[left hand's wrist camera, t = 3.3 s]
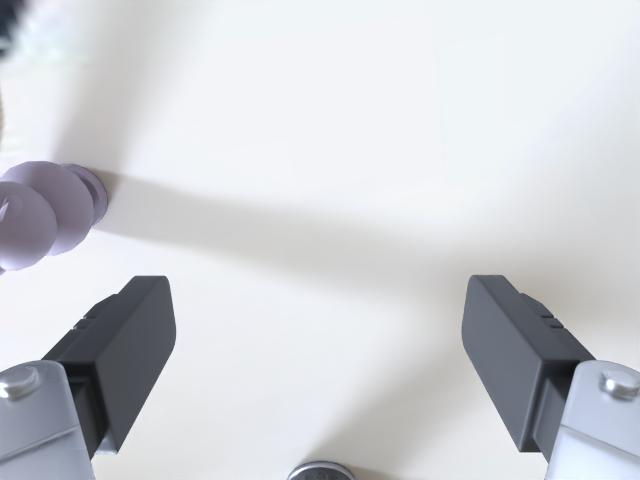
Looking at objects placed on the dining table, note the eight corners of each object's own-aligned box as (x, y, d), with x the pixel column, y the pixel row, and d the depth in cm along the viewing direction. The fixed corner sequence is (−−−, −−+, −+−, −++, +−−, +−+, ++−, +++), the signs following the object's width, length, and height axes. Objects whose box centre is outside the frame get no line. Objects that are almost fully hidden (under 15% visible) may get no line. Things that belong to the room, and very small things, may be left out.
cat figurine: (44, 135, 38) (-71, 161, 27) (126, 175, 39) (50, 215, 28) (22, 214, 41) (-90, 266, 30) (100, 248, 42) (21, 310, 31)
